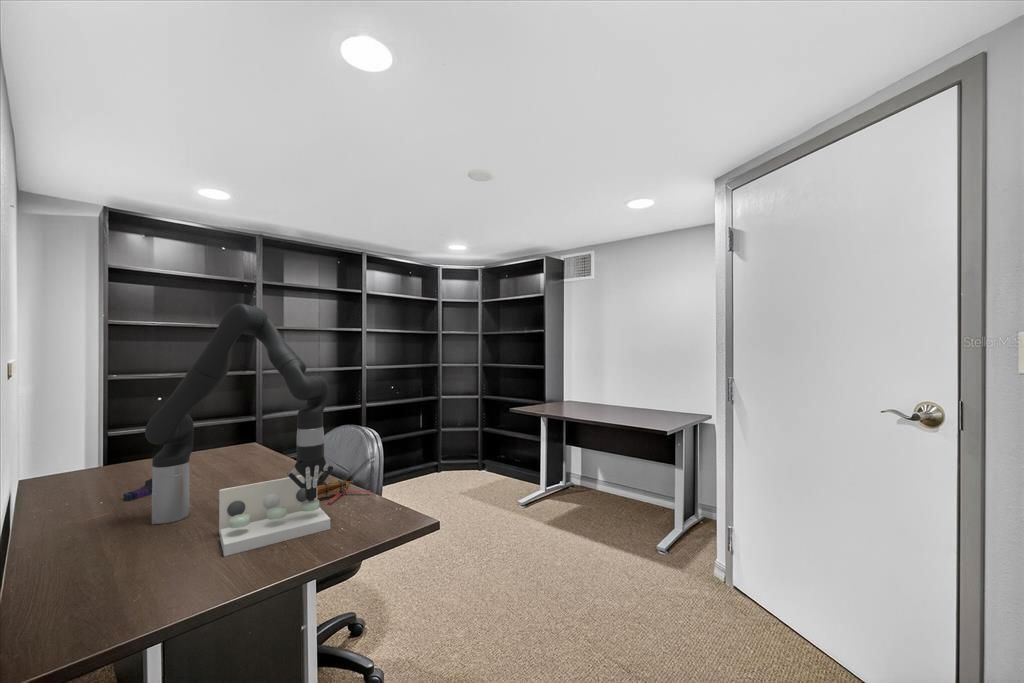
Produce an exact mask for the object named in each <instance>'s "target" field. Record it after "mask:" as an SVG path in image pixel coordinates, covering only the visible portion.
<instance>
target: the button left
mask: <svg viewBox="0 0 1024 683" xmlns="http://www.w3.org/2000/svg"><path fill="white" fill-rule="evenodd" d="M248 524H250V514H239V515H235V516H233V517H231V518H230V519H229V527H230V528H240V527H244V526H247V525H248Z"/></svg>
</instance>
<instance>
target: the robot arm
mask: <svg viewBox="0 0 1024 683" xmlns="http://www.w3.org/2000/svg"><path fill="white" fill-rule="evenodd" d="M241 335H247V336H253V337H254V338H256V340H258V341H260V342H261V343H262V344H263V346H264V347H265V349H266V353H267V357H268V360H269V361H270V364H271V365H272V366H273V368H275V370H277V372H278V373H279V374H280V375H281V376H282V377H283V379H284V381H285V384H286V386H287V389H288V390H289V392H290V394H291V395H292V396H293V397H294V398H295V399H296V400H299V401H302V402H303V401H306V404H305V406H304V407H302V408H300V409H299V410H298V412H297V417H296V418H297V424H296V426H297V430H296V462H295V464H294V468H293V469H292V470H290V471H288V472H287V473H286V474H287V477H290V478H291V479H292V480H293V481H294V482H295V483H296V484H297V485H298V486H299V487H300V488H301V489H302V488H305V498H306V499H307V500H308V501H314V498H316V497H317V486H319V485H322V484H323V483H324V481H326V480H327V479H328V477H329V475H330V474H331V473H332V472H333V470H334V466H333V465H331V464H328V463H327V461H326V459H325V431H324V411H325V408H326V404H327V399H328V397H329V396H328V395H329V385H328V384H329V383H328V381H327V380H326V379H325V377H323V376H321V375H310V376H309V375H307V376H306V375H305V373H306V370H307V366H306V363H305V362H304V361H303V360H302V359H301V357H300V356H299V355H297V354H296V352H295V351H294V350H293V349H292V348H291V347H290V346H289V345H288V343H287V342H286V341H285V339H284V337H283V336H282V335H281V334H280V332H279V331H278V329H277V327H276V326H275V324H274V323H273V320H272V319H271V318H270V316H269V315H268V313H267V312H266V310H263V309H262V308H260V307H258V306H254V305H253V306H252V305H249V304H246V303H236V304H233V305H231V306H230V307H229V308H228V309H227V311H226V312H225V313H224V315H223V317H222V319H221V321H220V323H219V324H218V325H217V327H216V329H215V331H214V334H213V335H212V337H211V339H210V340H209V341H208V343H207V344H206V346H205V347H204V348H203V350H202V352H201V353H200V354H199V356H198V358H196V360H195V361H194V362H193V364H192V366H191V367H190V368H189V370H188V371H187V373H186V374H185V376H184V377H183V379H182V380H181V381H180V382H179V384H178V385H177V387H176V388H175V389H174V391H173V392H172V393H171V395H170V396H169V398H168V399H167V400H166V401H165V402H164V403H163V405H161V407H160V408H159V409H158V410H157V411H156V412H155V413H154V414H153V415H152V416H151V417H150V419H149V421H148V422H147V423H146V426H145V430H144V436H145V439H146V440H147V441H148V442H149V443H150V444H153V445H163V447H162V448H161V450H160V451H159V452H158V453H157V454H155V455H154V456H153V457H152V461H151V462H152V465H151V466H152V467H151V469H152V470H151V471H152V473H151V474H152V477H151V479H152V494H151V525H157V524H158V525H159V524H160V525H161V524H167V523H168V524H169V523H174V522H178V521H180V520H184V519H186V518H187V517H189V516H190V508H191V507H190V499H191V498H190V495H191V494H190V486H191V485H190V466H191V465H190V457H191V454H192V453H193V450H194V449H193V448H194V437H195V436H194V432H195V427H194V426H195V425H194V421H193V418H192V417H191V415H190V414H189V412H191V410H192V409H193V408H194V407H195V406H198V405H199V404H200V403H201V402H202V401H204V400H206V398H207V397H209V396H210V395H211V394H212V393H214V392H215V390H217V388H218V387H219V386H220V385H221V383H222V382H223V380H224V379H225V378H226V376H227V374H228V373H229V371H230V364H231V363H230V362H231V360H230V357H231V356H230V355H231V350H232V348H233V346H234V344H235V343H236V342H237V340H238V339H239V337H241ZM322 470H323V472H322ZM298 474H300V475H302V476H303V477H304V483H302V482H301V481H300V480H299V479H298V478H297V476H298ZM319 475H320V476H319ZM310 477H311V478H310ZM310 481H311V482H310Z"/></svg>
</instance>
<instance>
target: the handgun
mask: <svg viewBox="0 0 1024 683" xmlns="http://www.w3.org/2000/svg"><path fill="white" fill-rule="evenodd" d="M150 495H151V496H152V478H149V479H147V480H145V482H144V486H141V487H140V488H138V489H135V490H131V491H128V492H124V493H123V500H125V501H126V502H131V501H134V500H138V499H141V498H144V497H147V496H150Z"/></svg>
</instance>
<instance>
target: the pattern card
mask: <svg viewBox="0 0 1024 683" xmlns="http://www.w3.org/2000/svg"><path fill="white" fill-rule="evenodd" d="M297 478H298V479H299V480H300V481H301V482H302V483H304V477H303V476H302V475H301V474H300V475H297ZM310 478H311V477H310ZM310 482H311V481H310ZM218 494H219V496H218V497H219V498H218V499H219V500H218V505H219V506H218V507H219V508H218V513H219V514H218V517H219V518H218V519H219V520H218V522H219V524H218V526H219V527H218V535H219V537H220V529H224V528H229V519H230V518H231V517H233V516H235V515H239V514H250V523H251V522H255V521H260V520H264V519H267V510H268V509H270V508H273V507H277V506H285V507H286V515H287V514H291V513H295V512H300V511H302V502H304V501H306V500H307V499H306V498H305V488H302V489H301V488H300V487H299V486H298V485H297V484H296V483H295V482H294V481H293V480H292V479H291V478H290V477H289V476H287V477H283V478H278V479H272V480H266V481H260V482H254V483H250V484H243V485H238V486H233V487H227V488H220V489H219V490H218ZM314 499H318V498H317V497H316V498H314Z"/></svg>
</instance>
